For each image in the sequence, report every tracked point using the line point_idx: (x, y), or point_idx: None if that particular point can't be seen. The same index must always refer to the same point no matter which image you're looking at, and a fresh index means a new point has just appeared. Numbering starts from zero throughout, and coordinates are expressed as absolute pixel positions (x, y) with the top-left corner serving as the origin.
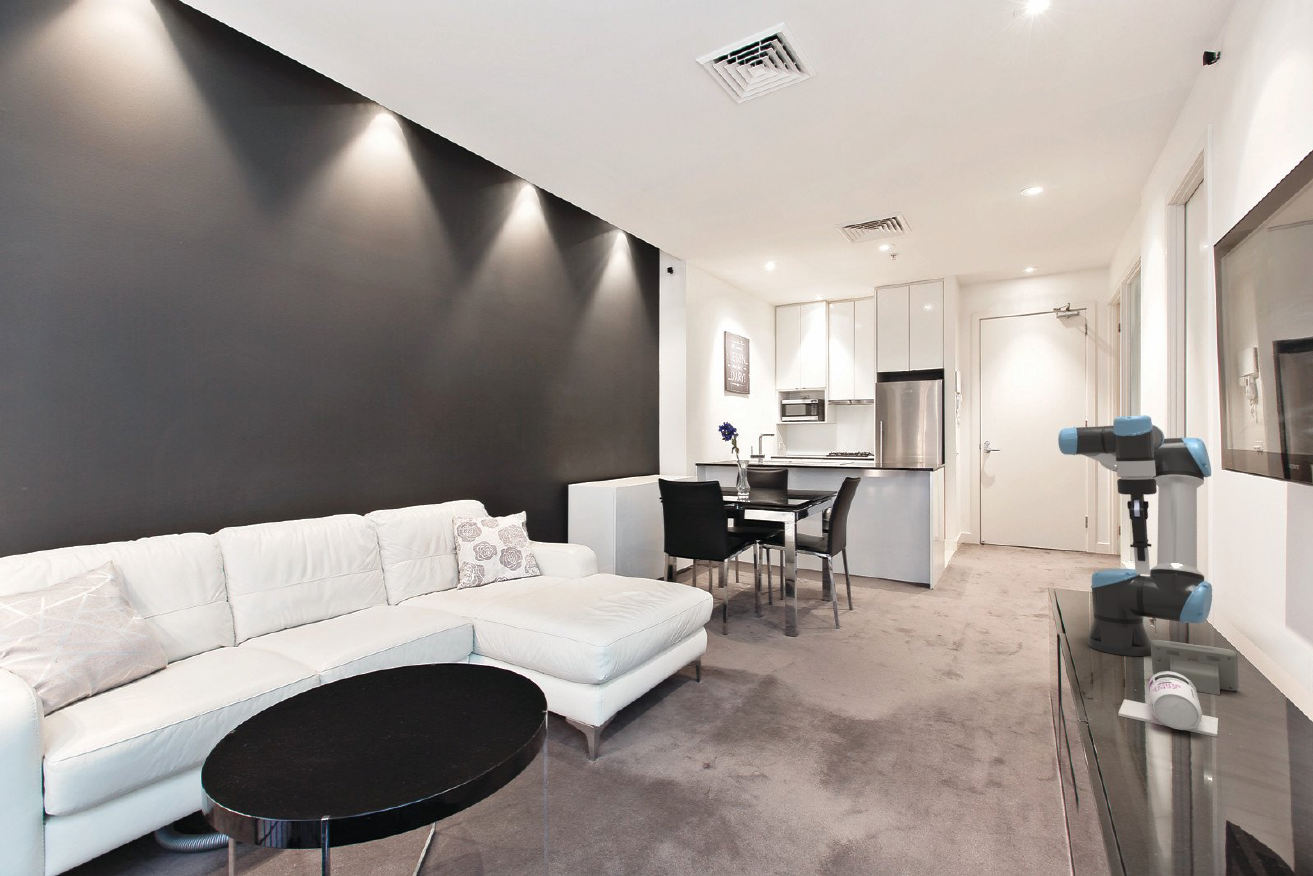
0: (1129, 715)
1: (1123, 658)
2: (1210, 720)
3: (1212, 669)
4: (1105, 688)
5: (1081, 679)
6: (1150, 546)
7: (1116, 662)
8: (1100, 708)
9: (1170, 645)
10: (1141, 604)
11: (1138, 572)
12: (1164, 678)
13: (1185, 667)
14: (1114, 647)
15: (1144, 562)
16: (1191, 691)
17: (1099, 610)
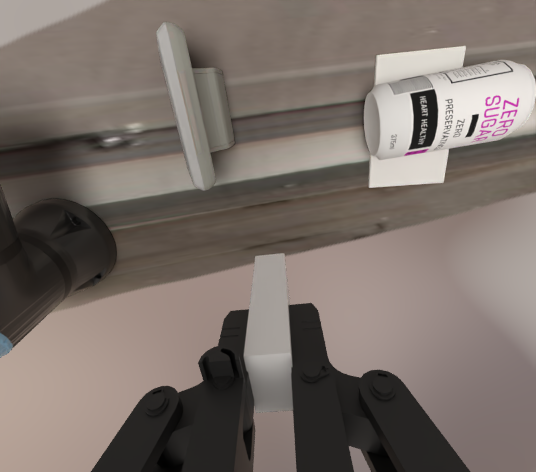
0: (445, 168)
1: (125, 228)
2: (398, 63)
3: (202, 78)
4: (315, 218)
5: (294, 252)
6: (231, 350)
7: (158, 232)
8: (420, 206)
9: (207, 154)
10: (12, 248)
11: (288, 291)
12: (442, 130)
13: (215, 125)
14: (108, 247)
15: (288, 302)
16: (473, 79)
17: (55, 305)
